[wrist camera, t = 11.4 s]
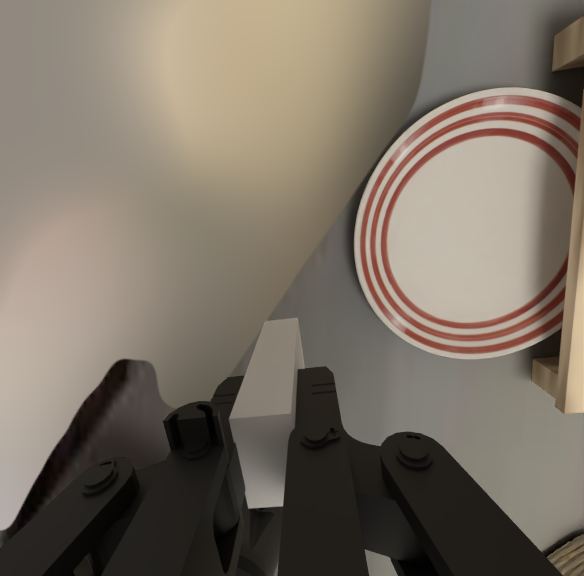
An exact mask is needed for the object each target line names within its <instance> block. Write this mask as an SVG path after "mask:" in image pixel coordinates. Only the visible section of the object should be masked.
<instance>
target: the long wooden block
mask: <svg viewBox="0 0 584 576" xmlns="http://www.w3.org/2000/svg"><path fill="white" fill-rule="evenodd" d="M577 67H584V15H583V16H582V17H581V18H579V19H578V20H576V21H575V22H573V23H572V24H571V25H569V26H568V27H566V28H565V29H563V30H562V31H561V32H559V33H558V34H556V35H555V36H554V49H553V64H552V72H553V71H559V70H565V69H571V68H577ZM532 381H533V382H534V383H535V384H537V385H538V386H539V387H541V388H542V389H543V390H545V391H546V392H547V393H549V394H550V395H551V396H553V397H554V398H555V399H556V403H555V407H556V408H558V409H559V410H560V411H561V412H563V413H564V414H568V413H580V412H584V91H583V102H582V113H581V124H580V135H579V146H578V157H577V169H576V180H575V191H574V202H573V213H572V224H571V235H570V247H569V258H568V269H567V280H566V291H565V302H564V313H563V325H562V336H561V347H560V356H558V357H548V358H537V359H533V366H532Z"/></svg>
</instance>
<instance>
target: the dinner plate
mask: <svg viewBox="0 0 584 576" xmlns="http://www.w3.org/2000/svg"><path fill="white" fill-rule="evenodd" d="M581 113H582V108H580V107H579V106H577V105H575V104H574V103H572V102H570V101H568V100H566V99H564V98H562V97H560V96H557V95H554V94H551V93H548V92H544V91H541V90H536V89H529V88H519V87H508V88H494V89H488V90H482V91H478V92H474V93H471V94H467V95H464V96H462V97H459V98H456V99H454V100H452V101H450V102H447V103H445V104H443V105H441V106H440V107H438V108H436V109H434V110H433V111H431V112H429V113H428V114H426V115H425V116H423V117H422V118H421V119H419V120H418V121H417V122H415V123H414V124H413V125H412V126H411V127H409V128H408V129H407V130H406V131H405V132H404V133H403V134H402V135H401V136H400V137H399V138H398V139H397V140H396V141H395V142H394V143H393V145H392V146H391V147H390V148H389V149H388V151H387V152H386V153H385V155H384V156H383V158H382V159H381V160H380V162H379V164H378V165H377V167H376V168H375V170H374V172H373V174H372V175H371V177H370V179H369V181H368V183H367V185H366V188H365V190H364V193H363V196H362V199H361V202H360V205H359V209H358V213H357V217H356V223H355V232H354V256H355V265H356V270H357V275H358V279H359V282H360V285H361V287H362V290H363V292H364V294H365V297H366V299H367V300H368V302H369V304H370V305H371V307H372V308H373V310H374V311H375V313H376V314H377V316H378V317H379V318H380V319H381V320H382V321H383V323H384V324H385V325H386V326H387V327H388V328H389V329H390V330H392V331H393V332H394V333H395V334H396V335H398V336H399V337H401V338H402V339H403V340H405V341H407V342H408V343H410V344H412V345H414V346H416V347H417V348H419V349H422V350H424V351H427V352H430V353H433V354H436V355H440V356H445V357H450V358H458V359H483V358H491V357H497V356H502V355H506V354H510V353H513V352H516V351H519V350H522V349H525V348H527V347H529V346H532V345H534V344H536V343H538V342H540V341H542V340H544V339H545V338H547V337H549V336H550V335H552V334H553V333H555V332H556V331H558V330H559V329H561V328H562V325H563V313H564V302H565V291H566V280H567V269H568V258H569V247H570V235H571V224H572V213H573V202H574V191H575V180H576V169H577V157H578V146H579V135H580V124H581Z"/></svg>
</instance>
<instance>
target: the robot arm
mask: <svg viewBox="0 0 584 576" xmlns="http://www.w3.org/2000/svg"><path fill="white" fill-rule="evenodd" d="M163 423H164V427H165V430H166V434H167V437H168V441H169V445H170V448H171V451H170V453H169V455H168V457H167V459H166V460H165V461H162V462H160V463H157V464H154V465H151V466H148V467H145V468H142V469H139V470H136V471H135V469H134V466H133V464H132V462H131V460H130V459H127V458H125V457H116V458H111V459H108V460H105V461H102V462H100V463H98V464H97V465H95V466H93V467H91V468H89V469H88V470H87V471H85V472H84V473H83V474H82V475H80V476H79V477H78V478H77V479H76V480H74V481H73V482H72V483H71V484H70V485H69V486H68V487H67V488H66V489H65V490H64V491H62V492H61V493H60V494H59V495H58V496H57V497H56V498H55V499H54V500H53V501H51V502H50V503H49V504H48V505H47V506H46V507H45V508H44V509H43V510H42V511H41V512H39V513H38V514H37V515H36V516H35V517H34V518H33V519H32V520H31V521H30V522H28V523H27V524H26V525H25V526H24V527H23V528H22V529H21V530H20V531H19V532H18V533H16V534H15V535H14V536H13V537H12V538H11V539H10V540H9V541H8V542H7V543H5V544H4V545H3V546H2V547H1V548H0V576H273V575H274V572H275V569H276V567H277V564H278V561H279V564H278V576H369V573H368V567H367V561H366V555H365V550H364V549H366V550H369V551H372V552H375V553H378V554H382V555H385V556H388V557H390V559H391V562H392V564H393V566H394V568H395V570H396V572H397V575H398V576H563V575H562V574H561V573H560V572H559V570H558V569H557V568H556V567H555V566H554V565H553V564H552V563H551V562H550V561H549V560H548V559H547V558H546V557H545V555H544V554H543V553H542V552H541V551H540V550H539V549H538V548H537V547H536V546H535V545H534V544H533V543H532V542H531V540H530V539H529V538H528V537H527V536H526V535H525V534H524V533H523V532H522V531H521V530H520V529H519V528H518V527H517V525H516V524H515V523H514V522H513V521H512V520H511V519H510V518H509V517H508V516H507V515H506V514H505V513H504V512H503V510H502V509H501V508H500V507H499V506H498V505H497V504H496V503H495V502H494V501H493V500H492V499H491V498H490V497H489V495H488V494H487V493H486V492H485V491H484V490H483V489H482V488H481V487H480V486H479V485H478V484H477V483H476V482H475V480H474V479H473V478H472V477H471V476H470V475H469V474H468V473H467V472H466V471H465V470H464V469H463V468H462V467H461V466H460V464H459V463H458V462H457V461H456V460H455V459H454V458H453V457H452V456H451V455H450V454H449V453H448V452H447V451H446V449H445V448H444V447H443V446H442V445H440V444H439V443H438V442H436V441H435V440H434V439H433V438H430V437H428V436H425V435H423V434H421V433H414V432H400V433H395V434H393V435H391V436H389V437H387V438H386V440H385V441H384V442H383V443H382V445H381V446H376V445H370V444H366V443H362V442H360V441H358V440H356V439H354V438H352V437H351V436H350V435H348V434H347V432H346V431H345V430H344V428H343V425H342V422H341V416H340V410H339V404H338V399H337V393H336V387H335V381H334V375H333V373H332V372H331V371H330V370H329V369H328V368H327V367H326V366H325V367H315V368H305V366H304V359H303V351H302V344H301V337H300V330H299V323H298V318H289V319H281V320H272V321H265V322H264V325H263V328H262V330H261V333H260V336H259V338H258V341H257V344H256V347H255V349H254V352H253V355H252V357H251V360H250V363H249V366H248V368H247V371H246V374H245V376H236V377H228V378H227V379H225V380H224V381H223V382H222V383H221V384H220V385H219V386H218V387H217V389H216V391H215V393H214V396H213V398H212V399H211V401H210V402H209V401H208V402H207V401H198V402H194V403H189V404H187V405H184V406H182V407H179V408H178V409H176V410H175V411H173V412H172V413H170V414H169V415H168V416H167V417H166V418H165V419H164V420H163Z"/></svg>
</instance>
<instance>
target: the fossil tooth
mask: <svg viewBox="0 0 584 576" xmlns="http://www.w3.org/2000/svg"><path fill="white" fill-rule="evenodd" d="M546 558H547V559H548V560H549V561H550V562H551V563H552V564H553V565H554V566H555V567H556V568H557V569H558V570H559V572H560V573H561V574H562V575H563V576H584V534H582V535H581V536H578V537H576V538H575V539H573V540H572V541H571V542H567V543H566V544H565V545H564V546H562V547H561V548H559V549H557V550H556V551H554V552H553V553H552V554H550V555H549V556H547V557H546Z"/></svg>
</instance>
